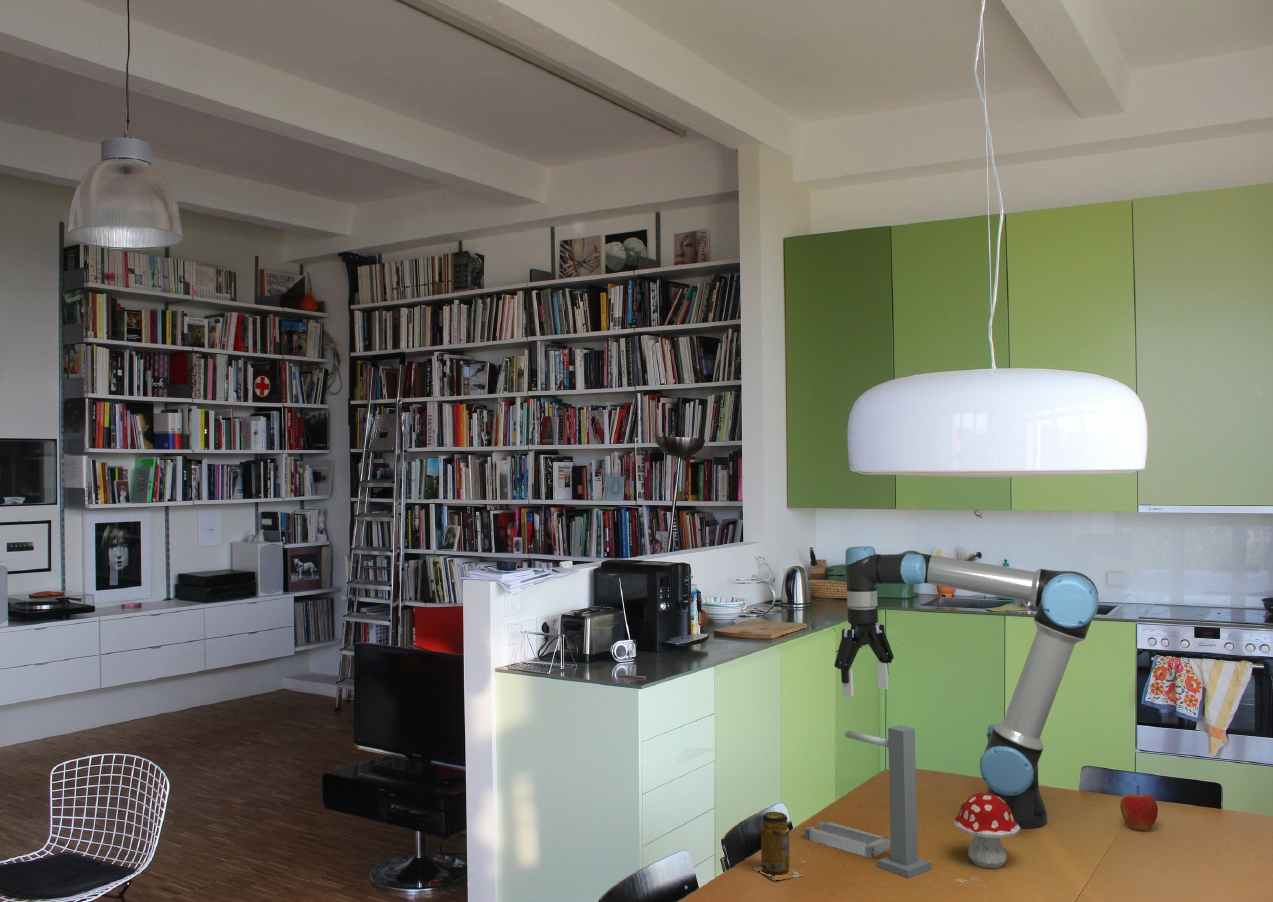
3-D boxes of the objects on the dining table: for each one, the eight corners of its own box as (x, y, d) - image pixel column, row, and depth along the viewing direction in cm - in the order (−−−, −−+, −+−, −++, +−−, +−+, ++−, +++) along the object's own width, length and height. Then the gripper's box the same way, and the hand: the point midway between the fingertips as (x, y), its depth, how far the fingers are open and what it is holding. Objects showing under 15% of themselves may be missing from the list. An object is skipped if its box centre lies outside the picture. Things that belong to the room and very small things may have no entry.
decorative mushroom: (941, 861, 217) (939, 792, 218) (978, 847, 226) (976, 780, 226) (998, 880, 206) (996, 807, 207) (1034, 864, 215) (1032, 794, 215)
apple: (1122, 832, 234) (1120, 789, 235) (1119, 822, 242) (1118, 780, 242) (1160, 836, 231) (1158, 793, 232) (1156, 825, 239) (1155, 784, 239)
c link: (824, 820, 238) (889, 838, 225) (824, 830, 238) (890, 848, 225) (804, 828, 233) (870, 847, 220) (804, 838, 233) (870, 858, 220)
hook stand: (931, 868, 213) (928, 728, 214) (908, 877, 208) (905, 734, 209) (859, 844, 229) (856, 713, 230) (836, 852, 224) (833, 718, 225)
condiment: (780, 863, 217) (779, 808, 218) (802, 876, 210) (801, 819, 210) (752, 869, 214) (751, 813, 215) (774, 882, 207) (773, 824, 207)
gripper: (881, 602, 261) (885, 683, 259) (817, 610, 245) (821, 697, 244) (905, 604, 255) (909, 687, 253) (841, 612, 239) (845, 701, 238)
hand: (866, 692), depth 249 cm, fingers open, 13 cm apart
